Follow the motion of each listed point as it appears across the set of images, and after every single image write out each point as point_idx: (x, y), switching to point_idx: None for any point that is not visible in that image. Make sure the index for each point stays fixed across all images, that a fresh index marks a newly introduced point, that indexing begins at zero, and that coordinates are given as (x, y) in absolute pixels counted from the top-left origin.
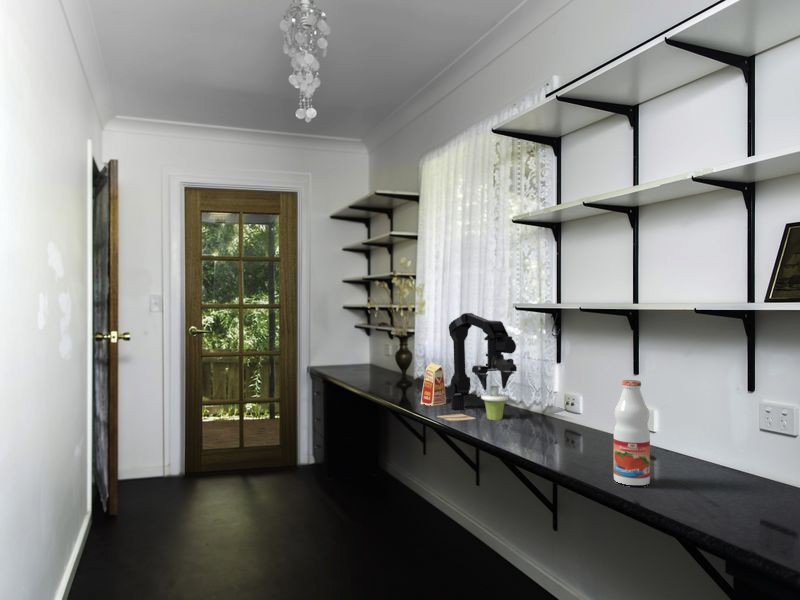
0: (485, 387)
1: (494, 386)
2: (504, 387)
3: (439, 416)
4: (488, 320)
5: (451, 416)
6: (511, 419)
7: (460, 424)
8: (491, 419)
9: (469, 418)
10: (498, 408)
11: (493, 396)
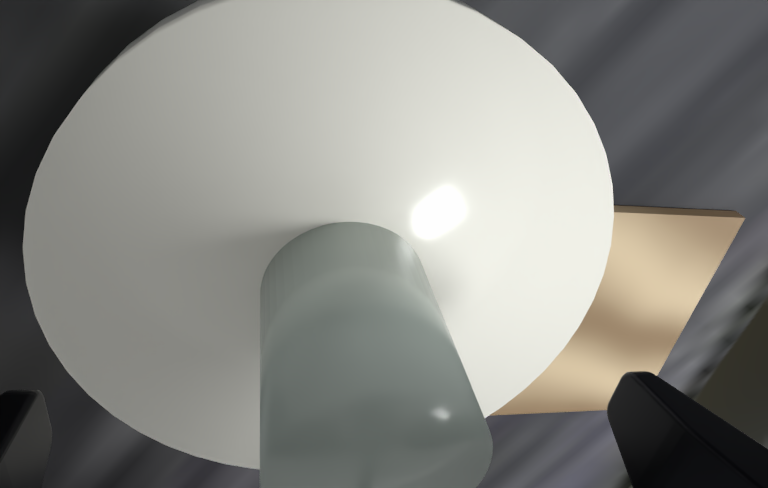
0: (707, 415)
1: (413, 445)
2: (14, 413)
3: None
4: None
5: (576, 361)
6: (84, 3)
7: (755, 109)
8: None
9: None
10: None
11: (415, 248)
